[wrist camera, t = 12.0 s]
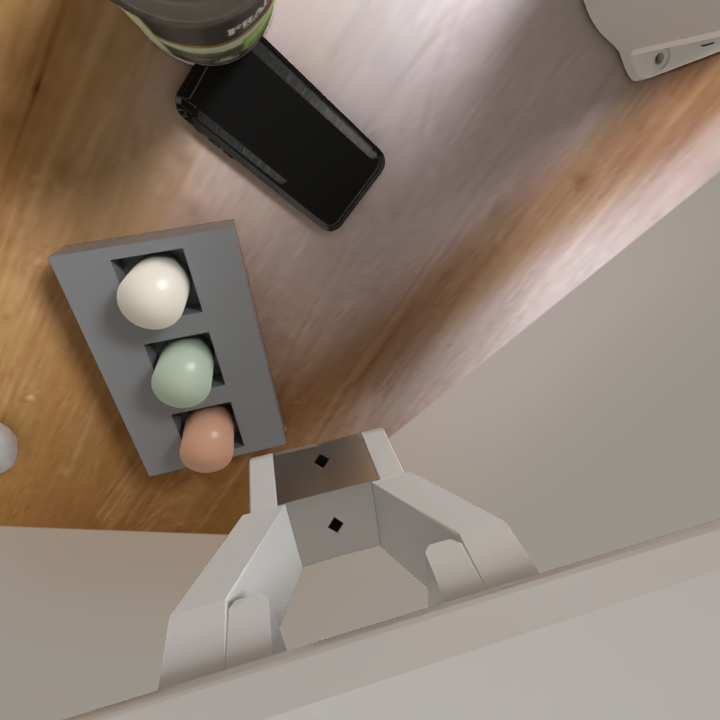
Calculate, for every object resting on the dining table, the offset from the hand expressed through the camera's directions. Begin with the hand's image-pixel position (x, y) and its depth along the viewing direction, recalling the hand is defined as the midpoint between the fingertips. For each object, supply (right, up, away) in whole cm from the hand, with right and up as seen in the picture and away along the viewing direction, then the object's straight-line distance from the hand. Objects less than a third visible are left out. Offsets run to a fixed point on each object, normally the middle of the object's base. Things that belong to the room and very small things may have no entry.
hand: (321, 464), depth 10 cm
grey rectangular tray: (-15, +3, +30) cm, 34 cm away
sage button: (-14, +3, +29) cm, 32 cm away
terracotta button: (-13, -3, +32) cm, 35 cm away
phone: (-5, +20, +25) cm, 32 cm away
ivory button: (-15, +9, +26) cm, 31 cm away
